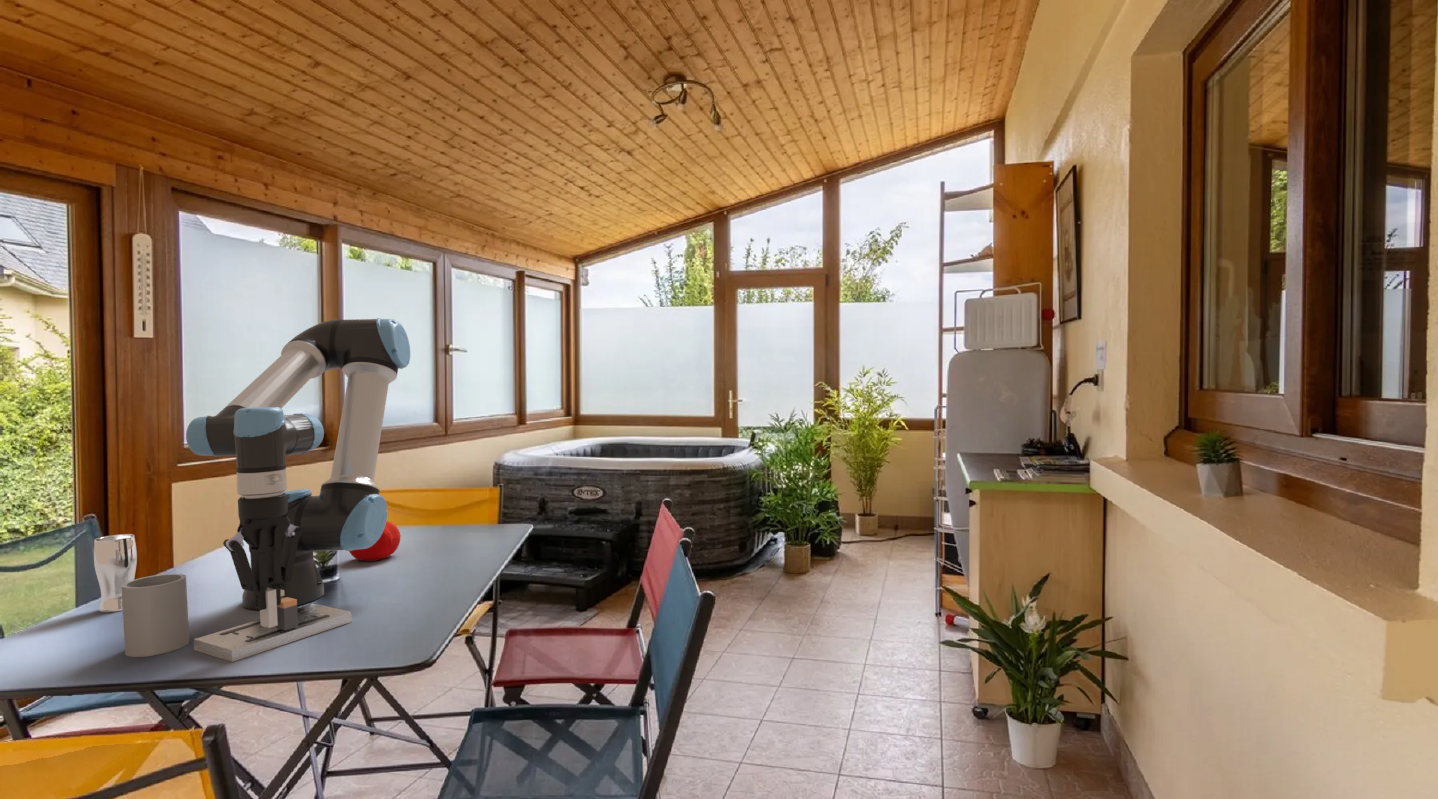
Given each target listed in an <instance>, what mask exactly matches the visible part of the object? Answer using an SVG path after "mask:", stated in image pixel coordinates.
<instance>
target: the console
mask: <svg viewBox="0 0 1438 799" xmlns="http://www.w3.org/2000/svg"><path fill="white" fill-rule="evenodd" d="M297 614H298V627H294V628H291V629H288V630H281V629H277V628H275V626H274V627H271V628H267V627H264V626H261V624H260V619H256V620H254V621H250V622H246V623H244V624H239V625H236V626H233V627H230V628H227V629H223V630H220V631H216V632H214V633H209V634H207V635H203V636H200V637H195V638H194V639H193V650H194V651H195V652H198V653H202V654H205V655H208V656H212V657H214V658H218V659H221V660H225V661H227V662H231V663H234V662H236V661H237V662H238V661H240V660H242V659H246V658H248V657H252V656H255V655H258V654H260V653H263V652H266V651H269V650H272V649H275V648H278V647H281V646H284V645H287V644H289V643H293V642H297V641H299V640H303V639H305V638H308V637H312V636H313V635H316V634H320V633H323V632H326V631H329V630H333V629H334V628H338V627H340V626H343V625H346V624H350V623H352V622H353V621H352V619H353V618H352V611H351V610H345V609H340V608H336V607H331V606H327V605H322V604H317V603H311V604H306V605H303V606H300V607H297Z"/></svg>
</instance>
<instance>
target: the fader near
mask: <svg viewBox="0 0 1438 799" xmlns="http://www.w3.org/2000/svg"><path fill="white" fill-rule="evenodd" d="M297 608H298V605H297V599H293V598H289V597H286V598H282V599H281V603H280V605H277V621H278V625H277V626H275V628H277V629H281V630H288V629H291V628H294V627H298V614H297Z"/></svg>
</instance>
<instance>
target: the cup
mask: <svg viewBox="0 0 1438 799" xmlns="http://www.w3.org/2000/svg"><path fill="white" fill-rule="evenodd" d="M187 588H188V586H187V575H185V574H182V573H165V574H156V575H149V576H145V577H144V576H143V577H139V578H136V579H135V578H134V580H131V581H128V582H126V583H124V584H123V585H122V604H123V610H122V617H123V618H122V620H123V636H124V639H123V640H124V654H125V656H127V657H132V658H140V657H141V658H143V657H151V656H157V655H162V654H167V653H170V652H174V651H176V650H179V649H181V648H183V647H185V646H187V645H188V644H189V643H190V633H189V629H190V628H189V612H188V610H189V609H188V591H187V590H188V589H187Z"/></svg>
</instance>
